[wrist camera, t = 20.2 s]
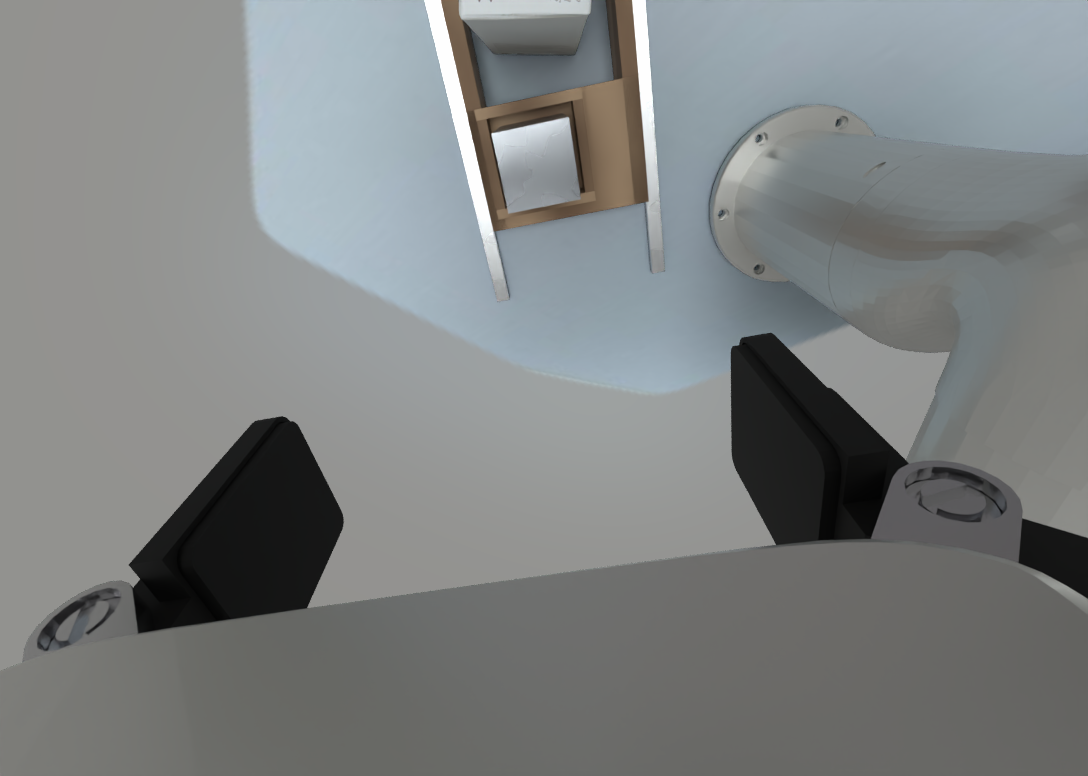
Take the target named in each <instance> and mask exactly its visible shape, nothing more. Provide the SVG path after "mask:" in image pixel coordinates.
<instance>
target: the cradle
mask: <svg viewBox="0 0 1088 776" xmlns="http://www.w3.org/2000/svg"><path fill="white" fill-rule="evenodd" d="M440 1H441V5H442V10H443V14H444V18H445V23H446V27H447V31H448V36H449V40H450V44H451V49H452V53H453V57H454V62H455V66H456V71H457V75H458V79H459V84H460V88H461V92H462V97H463V101H464V105H465V110H466V114H467V118H468V123H469V127H470V131H471V136H472V140H473V145H474V149H475V153H476V158H477V162H478V166H479V171H480V175H481V179H482V184H483V188H484V192H485V197H486V201H487V205H488V210H489V214H490V219H491V223H492V227H493V232H494V231H499V230H505V229H510V228H515V227H520V226H525V225H530V224H535V223H541V222H546V221H551V220H556V219H561V218H566V217H571V216H577V215H582V214H587V213H592V212H597V211H602V210H607V209H613V208H618V207H623V206H628V205H633V204H638V203H644V202H649V196H648V184H647V172H646V160H645V147H644V135H643V123H642V111H641V98H640V86H639V74H638V62H637V50H636V37H635V25H634V13H633V1H632V0H606V7H607V16H608V26H609V36H610V46H611V55H612V65H613V75H614V80H612V81H608V82H603V83H598V84H594V85H589V86H584V87H579V88H574V89H570V90H565V91H560V92H556V93H551V94H546V95H542V96H537V97H532V98H528V99H523V100H518V101H514V102H509V103H504V104H500V105H495V106H490V107H486V102H485V97H484V93H483V88H482V83H481V79H480V74H479V69H478V64H477V60H476V55H475V50H474V46H473V41H472V36H471V31H470V27H469V26H468V25H467V24H466V22H464V20H462V19H461V17H460V15H459V0H440ZM560 113H563V114H564V115H566V116H568V117H569V122H570V128H571V135H572V142H573V149H574V155H575V162H576V169H577V176H578V182H579V189H580V196H581V199H580V200H575V201H570V202H565V203H560V204H555V205H550V206H545V207H540V208H535V209H530V210H525V211H520V212H515V213H510V214H509V213H508V209H507V204H506V199H505V195H504V190H503V185H502V181H501V176H500V172H499V167H498V162H497V158H496V153H495V148H494V144H493V139H492V135H491V134H492V133H493V132H494V131H495V130H497V129H498V128H499V127H500V126H504V125H509V124H514V123H518V122H523V121H527V120H532V119H537V118H541V117H546V116H551V115H555V114H560Z"/></svg>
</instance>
